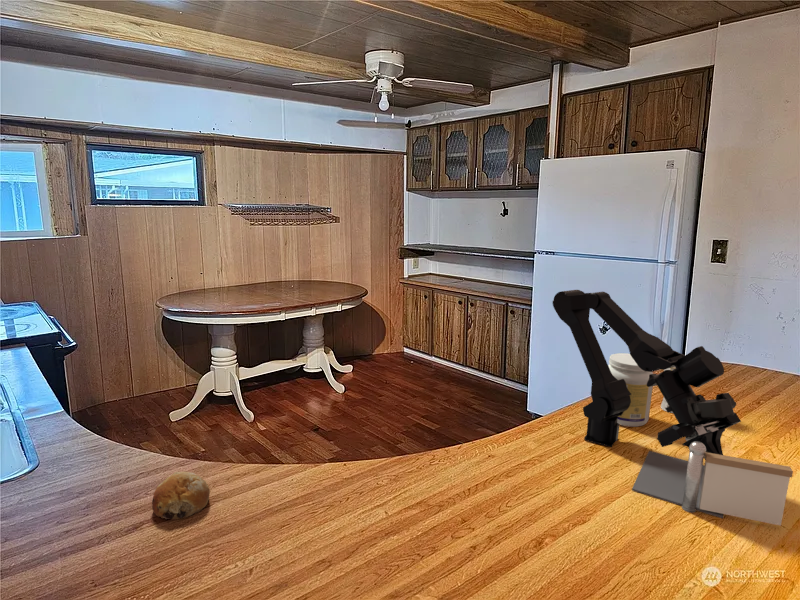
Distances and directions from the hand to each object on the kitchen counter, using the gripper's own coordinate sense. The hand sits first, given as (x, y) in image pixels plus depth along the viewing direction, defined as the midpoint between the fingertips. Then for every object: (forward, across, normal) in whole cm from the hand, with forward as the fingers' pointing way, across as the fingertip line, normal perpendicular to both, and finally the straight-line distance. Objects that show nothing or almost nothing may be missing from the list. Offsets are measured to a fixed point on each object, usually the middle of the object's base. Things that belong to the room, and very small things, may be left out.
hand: (722, 469), depth 103 cm
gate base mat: (0, -1, +10) cm, 10 cm away
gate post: (+4, -9, +4) cm, 11 cm away
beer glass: (-19, +32, +29) cm, 47 cm away
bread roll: (-23, -97, +34) cm, 105 cm away
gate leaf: (+8, -3, 0) cm, 9 cm away
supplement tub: (-20, +14, +30) cm, 39 cm away
